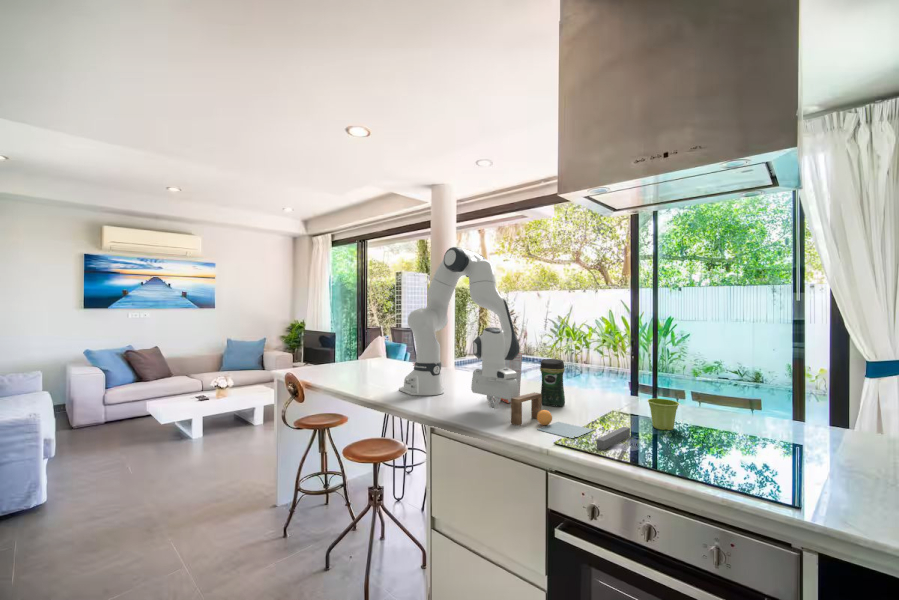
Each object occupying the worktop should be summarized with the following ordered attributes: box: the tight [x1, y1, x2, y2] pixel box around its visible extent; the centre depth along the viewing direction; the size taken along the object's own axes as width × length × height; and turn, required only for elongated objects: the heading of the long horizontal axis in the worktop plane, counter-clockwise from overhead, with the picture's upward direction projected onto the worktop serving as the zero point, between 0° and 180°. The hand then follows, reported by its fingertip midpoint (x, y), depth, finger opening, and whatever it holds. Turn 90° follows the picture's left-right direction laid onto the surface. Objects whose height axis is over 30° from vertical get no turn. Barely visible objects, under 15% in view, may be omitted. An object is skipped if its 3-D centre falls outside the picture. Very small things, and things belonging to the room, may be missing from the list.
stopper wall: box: [596, 426, 631, 451], centre depth 121 cm, size 2×18×2 cm, turn 134°
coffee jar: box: [539, 358, 566, 407], centre depth 168 cm, size 10×8×19 cm
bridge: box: [510, 391, 543, 426], centre depth 144 cm, size 3×14×9 cm, turn 134°
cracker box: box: [500, 352, 523, 404], centre depth 176 cm, size 14×6×21 cm, turn 18°
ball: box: [536, 409, 553, 426], centre depth 138 cm, size 5×5×5 cm
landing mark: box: [536, 421, 595, 439], centre depth 133 cm, size 13×13×1 cm
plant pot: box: [647, 398, 680, 431], centre depth 136 cm, size 9×9×9 cm
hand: (493, 408), depth 154 cm, fingers closed
